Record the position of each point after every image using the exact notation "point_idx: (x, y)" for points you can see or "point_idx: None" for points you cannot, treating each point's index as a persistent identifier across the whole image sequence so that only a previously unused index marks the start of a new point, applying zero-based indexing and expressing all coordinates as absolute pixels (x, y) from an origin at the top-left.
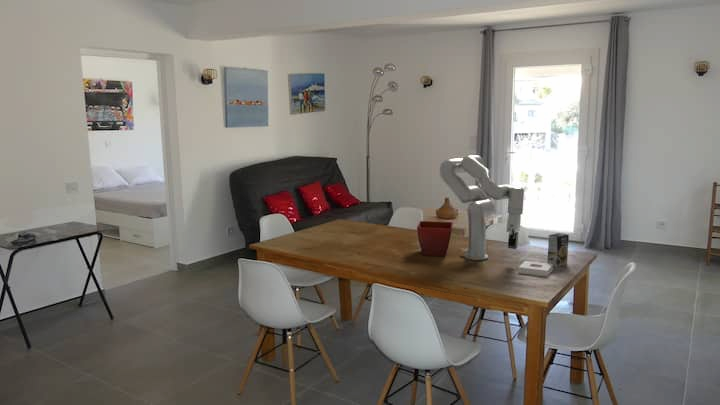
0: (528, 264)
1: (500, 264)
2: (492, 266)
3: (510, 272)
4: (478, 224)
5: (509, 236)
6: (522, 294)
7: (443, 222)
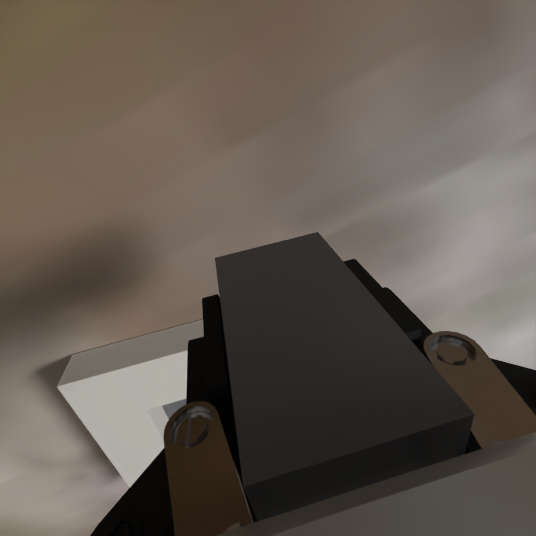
0: (185, 388)
1: (183, 138)
2: (53, 111)
3: (31, 318)
4: None
5: (169, 459)
6: None
7: None
